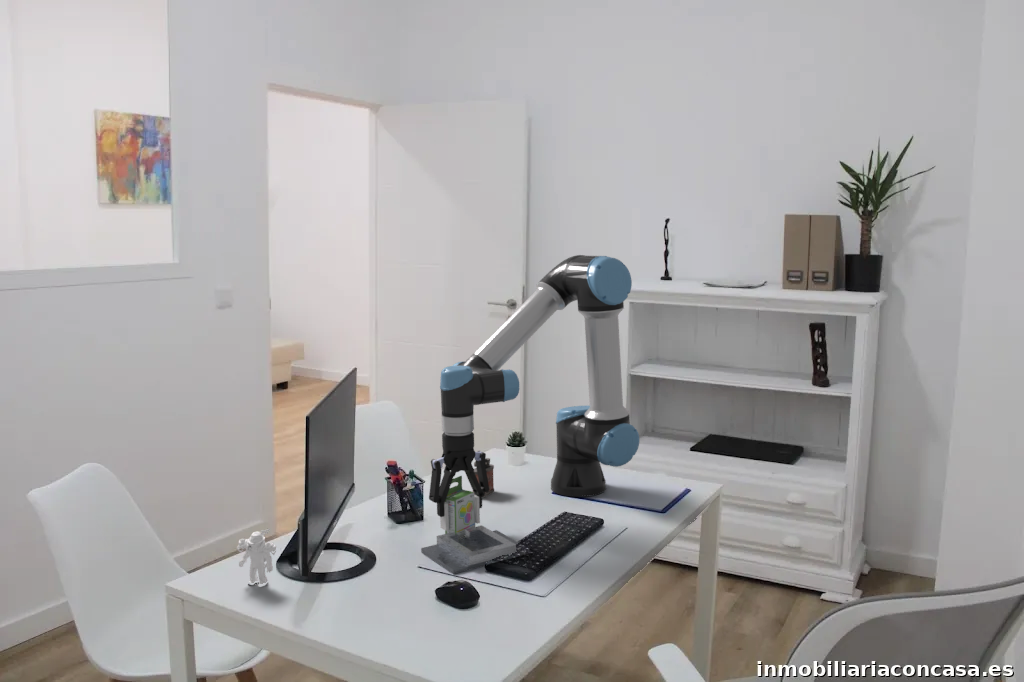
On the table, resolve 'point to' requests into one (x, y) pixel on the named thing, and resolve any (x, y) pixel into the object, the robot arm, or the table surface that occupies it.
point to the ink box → (460, 509)
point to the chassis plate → (469, 549)
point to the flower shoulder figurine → (257, 555)
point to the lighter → (489, 475)
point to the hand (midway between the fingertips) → (460, 525)
